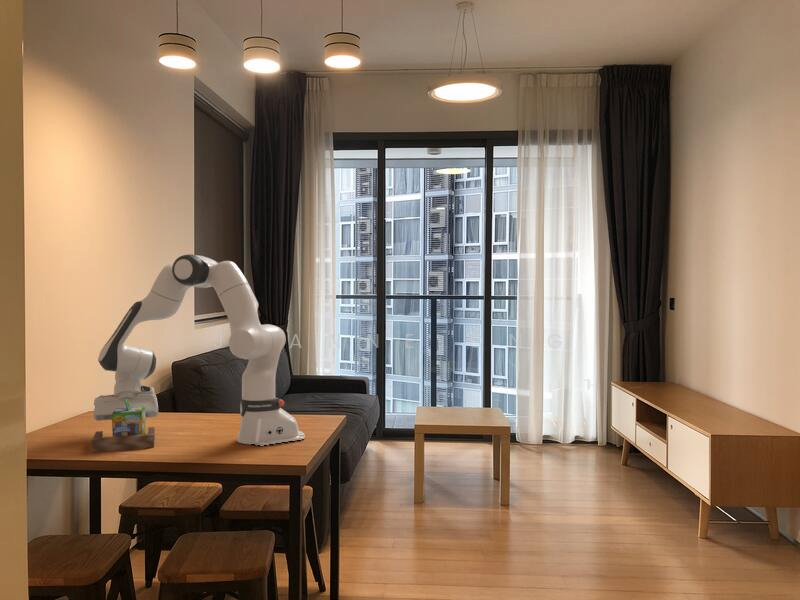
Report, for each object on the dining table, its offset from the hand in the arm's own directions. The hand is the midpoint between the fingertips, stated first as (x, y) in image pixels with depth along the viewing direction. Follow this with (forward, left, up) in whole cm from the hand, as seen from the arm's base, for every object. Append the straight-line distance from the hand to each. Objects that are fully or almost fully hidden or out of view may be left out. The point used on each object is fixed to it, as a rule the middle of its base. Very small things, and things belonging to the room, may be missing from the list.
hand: (125, 427), depth 200 cm
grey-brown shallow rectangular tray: (0, +6, -4) cm, 8 cm away
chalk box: (-2, +5, -5) cm, 7 cm away
